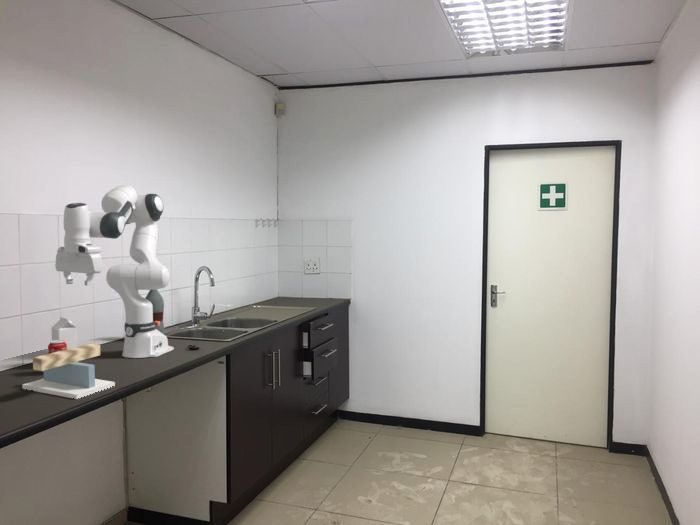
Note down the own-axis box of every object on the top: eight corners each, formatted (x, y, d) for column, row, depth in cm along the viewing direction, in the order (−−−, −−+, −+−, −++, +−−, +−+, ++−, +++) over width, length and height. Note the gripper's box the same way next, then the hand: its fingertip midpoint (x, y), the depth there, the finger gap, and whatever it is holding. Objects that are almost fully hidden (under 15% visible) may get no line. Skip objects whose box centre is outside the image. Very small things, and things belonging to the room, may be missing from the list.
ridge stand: (62, 377, 216) (61, 353, 215) (114, 386, 205) (114, 361, 204) (22, 388, 201) (21, 363, 200) (76, 399, 191) (76, 372, 190)
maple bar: (41, 371, 191) (41, 359, 190) (33, 369, 192) (32, 357, 192) (100, 355, 213) (100, 344, 212) (92, 354, 214) (92, 343, 214)
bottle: (168, 338, 283) (167, 277, 281) (157, 342, 275) (156, 279, 272) (151, 337, 286) (150, 276, 283) (140, 341, 277) (139, 278, 274)
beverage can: (62, 369, 227) (61, 338, 226) (70, 372, 223) (69, 341, 222) (45, 372, 222) (45, 341, 221) (53, 375, 218) (52, 343, 217)
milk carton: (59, 368, 228) (58, 320, 227) (52, 364, 233) (50, 317, 232) (78, 364, 234) (76, 317, 232) (70, 361, 238) (69, 315, 237)
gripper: (50, 246, 216) (51, 284, 217) (90, 248, 208) (91, 287, 209) (64, 246, 222) (65, 282, 223) (104, 247, 213) (105, 285, 215)
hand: (78, 284), depth 216 cm, fingers open, 8 cm apart
